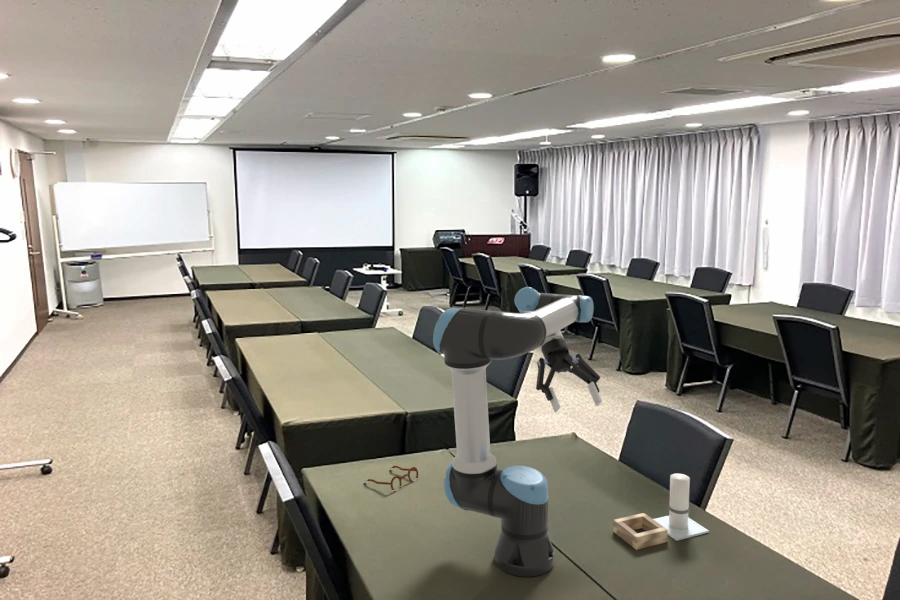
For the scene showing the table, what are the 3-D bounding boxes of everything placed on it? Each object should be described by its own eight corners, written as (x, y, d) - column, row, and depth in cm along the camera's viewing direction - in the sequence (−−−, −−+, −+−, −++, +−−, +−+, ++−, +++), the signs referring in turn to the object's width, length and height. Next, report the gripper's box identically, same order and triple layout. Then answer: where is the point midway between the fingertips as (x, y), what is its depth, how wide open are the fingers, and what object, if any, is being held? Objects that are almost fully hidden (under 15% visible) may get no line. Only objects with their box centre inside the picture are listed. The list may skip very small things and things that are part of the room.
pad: (676, 540, 172) (676, 538, 171) (649, 521, 182) (649, 519, 182) (708, 532, 175) (708, 530, 175) (680, 514, 186) (680, 512, 185)
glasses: (392, 495, 202) (392, 480, 201) (362, 484, 210) (362, 470, 209) (419, 480, 212) (419, 465, 212) (389, 470, 220) (389, 457, 219)
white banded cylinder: (677, 531, 175) (678, 483, 173) (663, 522, 180) (665, 475, 178) (693, 527, 177) (694, 479, 175) (679, 518, 182) (681, 471, 180)
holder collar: (636, 549, 168) (636, 537, 167) (613, 531, 177) (613, 519, 176) (667, 541, 171) (667, 529, 171) (643, 524, 180) (643, 512, 180)
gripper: (583, 347, 201) (610, 407, 189) (511, 354, 192) (534, 418, 180) (593, 333, 195) (621, 395, 183) (519, 340, 186) (544, 405, 175)
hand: (578, 406), depth 182 cm, fingers open, 13 cm apart
